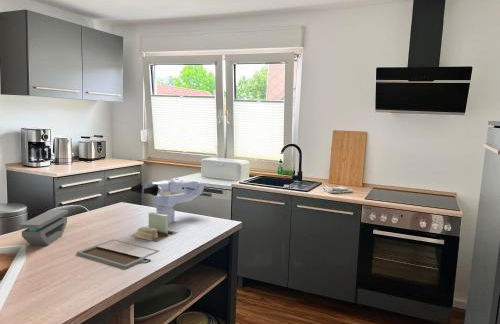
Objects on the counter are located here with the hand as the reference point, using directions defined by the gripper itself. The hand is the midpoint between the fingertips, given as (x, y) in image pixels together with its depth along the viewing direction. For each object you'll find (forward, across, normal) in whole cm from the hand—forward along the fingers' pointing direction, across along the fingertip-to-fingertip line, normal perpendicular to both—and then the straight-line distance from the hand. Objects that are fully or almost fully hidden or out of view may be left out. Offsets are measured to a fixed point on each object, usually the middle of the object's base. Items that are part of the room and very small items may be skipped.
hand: (137, 190), depth 179 cm
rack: (-4, +8, +21) cm, 23 cm away
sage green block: (-7, +8, +20) cm, 23 cm away
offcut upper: (+2, +8, +19) cm, 21 cm away
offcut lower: (+2, +8, +21) cm, 22 cm away
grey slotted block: (+25, -28, +24) cm, 45 cm away
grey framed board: (+21, +12, +24) cm, 34 cm away
